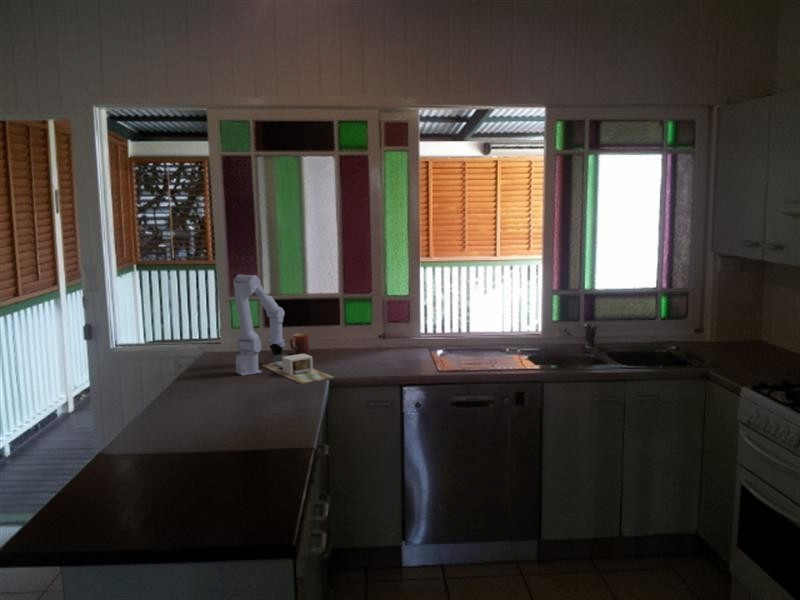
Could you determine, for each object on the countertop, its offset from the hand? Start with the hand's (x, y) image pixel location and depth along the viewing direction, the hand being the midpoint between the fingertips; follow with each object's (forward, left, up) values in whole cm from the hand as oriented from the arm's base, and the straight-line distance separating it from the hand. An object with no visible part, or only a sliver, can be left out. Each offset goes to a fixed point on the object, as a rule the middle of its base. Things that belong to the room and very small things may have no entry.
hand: (277, 359), depth 299 cm
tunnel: (0, -21, -2) cm, 21 cm away
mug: (+17, +10, -2) cm, 20 cm away
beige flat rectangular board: (0, -19, -2) cm, 19 cm away
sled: (0, -15, -1) cm, 15 cm away
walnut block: (0, -23, 0) cm, 23 cm away
